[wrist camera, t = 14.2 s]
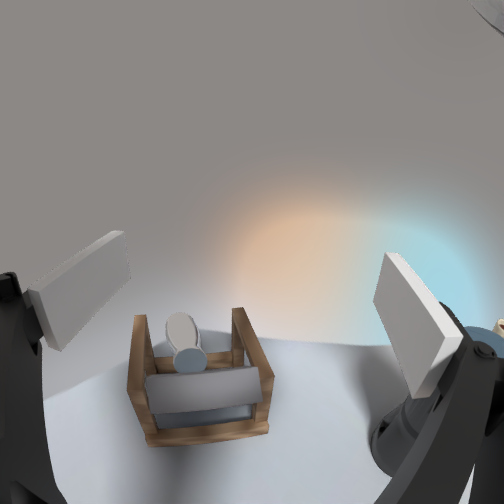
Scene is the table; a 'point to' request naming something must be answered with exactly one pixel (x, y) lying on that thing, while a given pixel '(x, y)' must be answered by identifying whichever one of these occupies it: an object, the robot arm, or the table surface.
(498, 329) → the character mug
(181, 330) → the beer glass
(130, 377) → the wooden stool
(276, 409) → the table surface
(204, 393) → the trapdoor
